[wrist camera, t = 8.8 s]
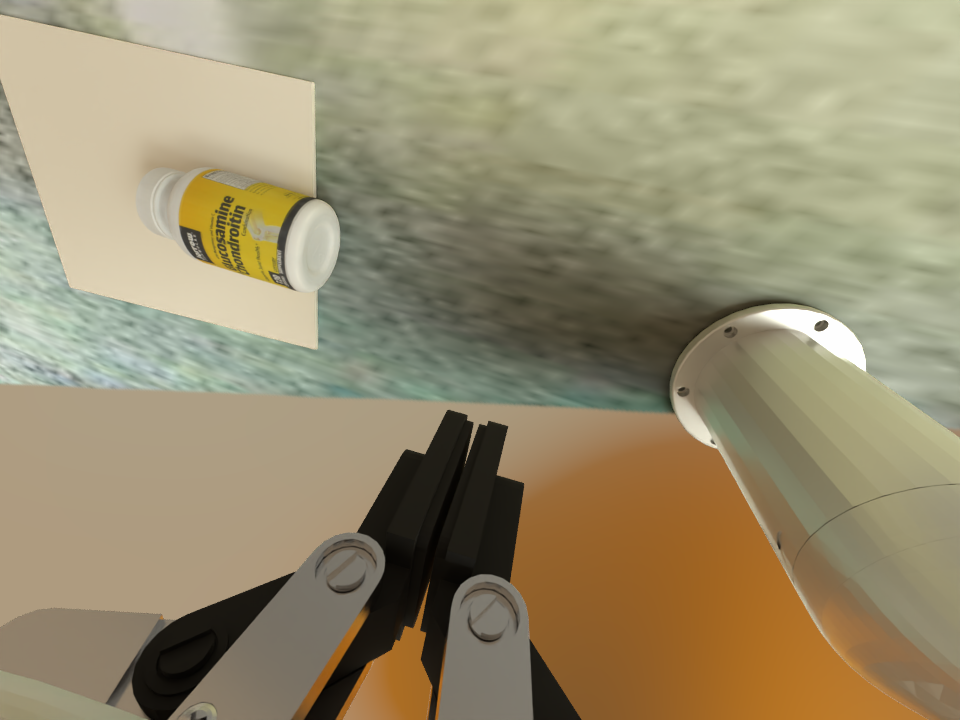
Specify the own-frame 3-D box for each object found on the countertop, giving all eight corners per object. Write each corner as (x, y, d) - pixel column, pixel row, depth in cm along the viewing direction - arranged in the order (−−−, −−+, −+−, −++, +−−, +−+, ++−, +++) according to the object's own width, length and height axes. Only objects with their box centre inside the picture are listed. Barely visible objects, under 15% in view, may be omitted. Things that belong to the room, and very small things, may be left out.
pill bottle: (306, 314, 28) (151, 267, 28) (348, 261, 32) (212, 221, 32) (287, 234, 23) (99, 178, 23) (339, 184, 27) (179, 137, 27)
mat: (314, 82, 26) (311, 81, 26) (318, 347, 36) (315, 349, 35) (-16, 11, 27) (-23, 9, 27) (74, 286, 37) (69, 287, 37)
